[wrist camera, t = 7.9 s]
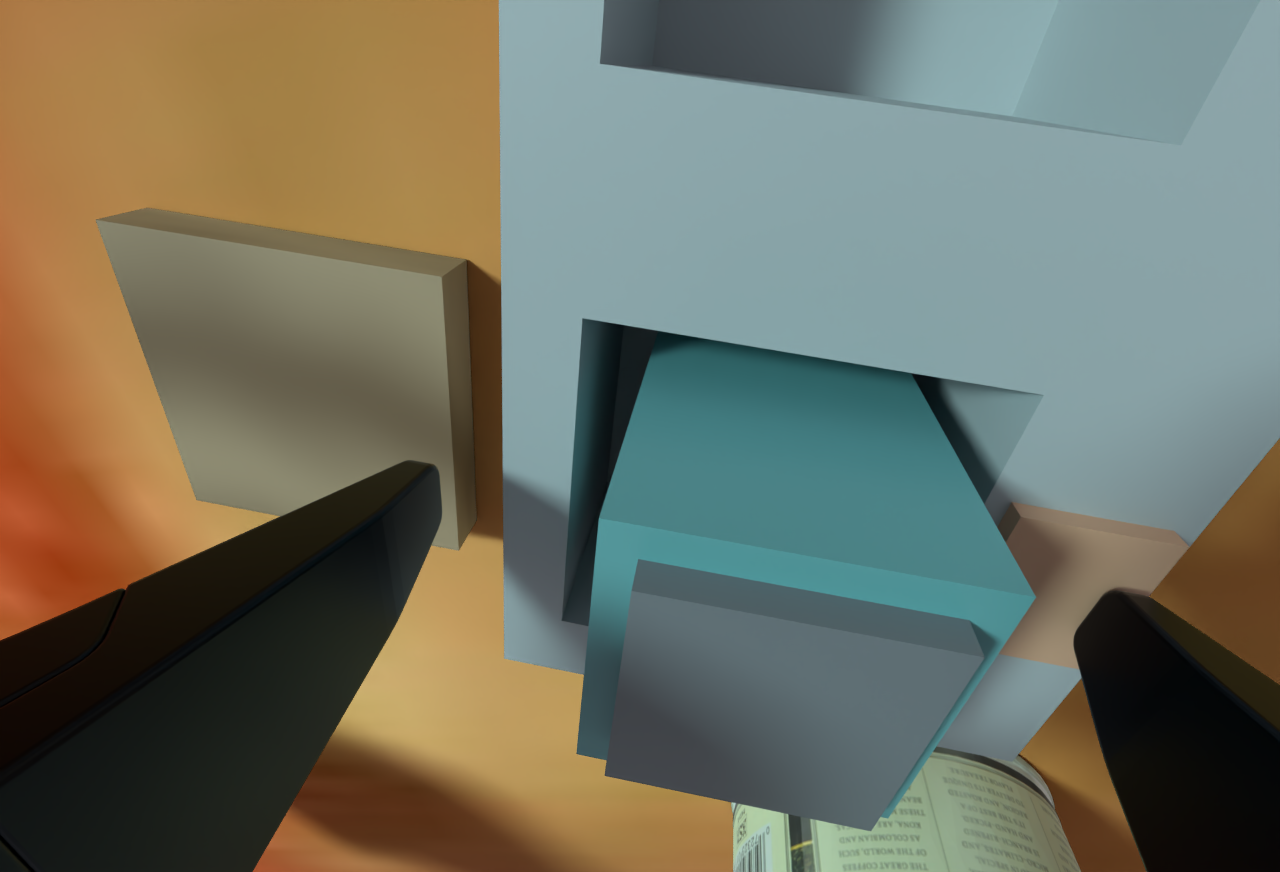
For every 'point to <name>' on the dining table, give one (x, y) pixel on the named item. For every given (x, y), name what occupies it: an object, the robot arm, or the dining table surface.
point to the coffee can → (922, 827)
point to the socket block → (902, 267)
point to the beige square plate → (300, 359)
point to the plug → (787, 585)
